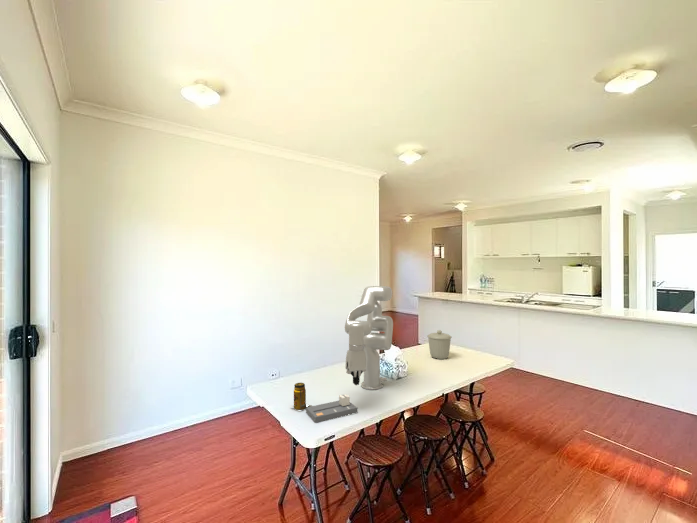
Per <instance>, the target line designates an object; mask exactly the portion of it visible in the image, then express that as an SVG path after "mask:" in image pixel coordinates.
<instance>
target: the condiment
mask: <svg viewBox="0 0 697 523" xmlns="http://www.w3.org/2000/svg"><path fill="white" fill-rule="evenodd" d="M306 390H307V389H306V385H305V382H297V383H295V384H294V389H293V407H294V409H296V410H295V411H297V410H303V411H305V410H306V404H307V403H306V402H307V400H306V398H307V395H306V394H307V391H306ZM308 405H309V406H308V407H311V406H312V405H311V404H308ZM294 409H293V410H294ZM304 409H305V410H304ZM298 412H301V411H298Z"/></svg>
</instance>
